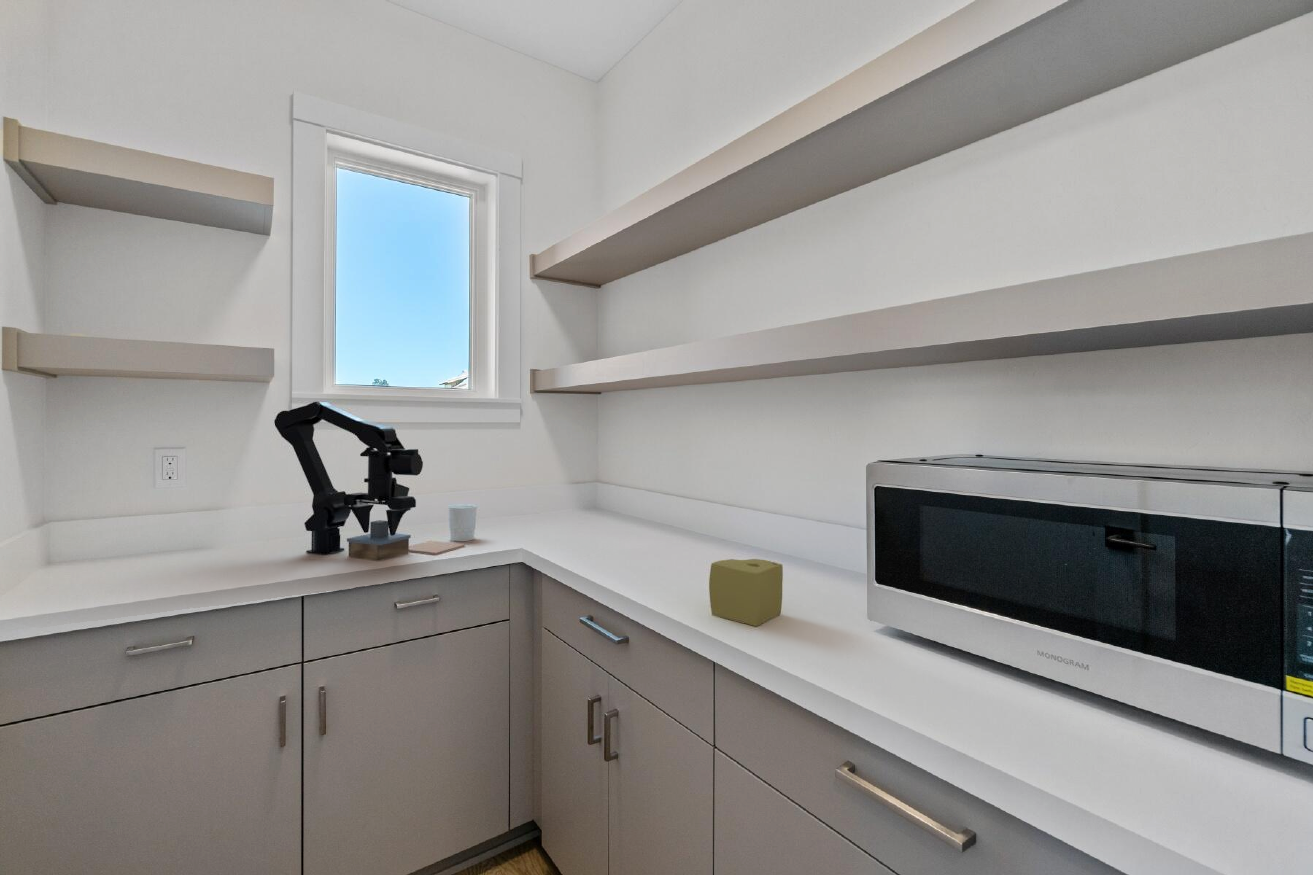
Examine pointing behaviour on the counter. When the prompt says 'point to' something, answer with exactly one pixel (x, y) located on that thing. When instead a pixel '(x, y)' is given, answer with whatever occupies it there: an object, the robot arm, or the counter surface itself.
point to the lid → (378, 535)
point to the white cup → (462, 522)
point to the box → (378, 550)
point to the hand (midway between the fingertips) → (379, 533)
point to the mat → (434, 547)
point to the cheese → (746, 590)
